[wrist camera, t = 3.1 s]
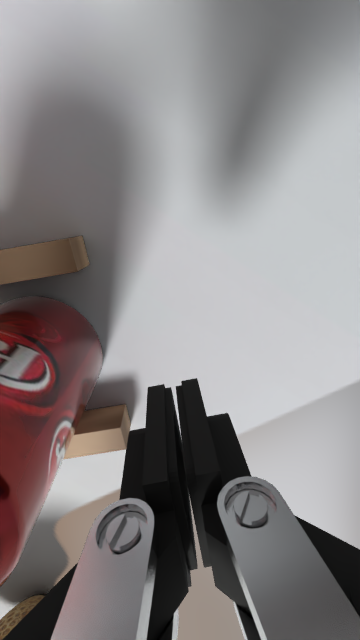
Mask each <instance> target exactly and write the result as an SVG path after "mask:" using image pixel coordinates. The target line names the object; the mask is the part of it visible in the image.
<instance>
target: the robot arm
mask: <svg viewBox="0 0 360 640" xmlns="http://www.w3.org/2000/svg"><path fill="white" fill-rule="evenodd" d="M181 382H182V386H176V393H177V402H178V411H179V419H180V428H181V435H180V430H179V425H178V420H177V415H176V410H175V405H174V400H173V395H172V390H171V387H170V388H165V386H164V384H163V385H157V386H152V387H148V395H147V413H146V428H143V429H138V430H132V431H130V432H129V434H128V441H127V448H126V455H125V463H124V470H123V478H122V485H121V493H120V500H119V501H117V502H114V503H112V504H110V505H109V506H108V507H107V508H105V509H104V510H103V511H102V512H101V513H100V514H99V515H98V517H97V518H96V519H95V521H94V523H93V525H92V527H91V529H90V531H89V534H88V537H87V540H86V543H85V546H84V548H83V551H82V554H81V556H80V559H79V562H78V563H77V564H76V565H75V566H74V567H73V568H72V569H71V570H70V571H69V572H68V573H67V574H66V575H65V576H64V577H63V578H62V579H61V580H60V581H59V582H58V583H57V584H56V585H55V586H54V587H53V588H52V589H51V590H50V591H49V593H48V594H47V595H46V596H45V597H44V598H43V599H42V600H41V601H40V602H39V603H38V604H37V605H36V606H35V607H34V608H33V609H32V610H31V611H30V612H29V613H28V614H27V615H26V616H25V617H24V618H23V619H22V620H21V621H20V622H19V623H18V624H17V625H16V626H15V627H14V628H13V629H12V630H11V631H10V632H9V633H8V634H7V635H6V636H5V637H4V638H3V639H2V640H177V637H178V621H179V617H178V607H179V605H180V603H181V602H182V601H183V599H184V597H185V596H186V594H187V593H188V587H190V586H191V577H190V570H194V569H197V559H196V550H195V541H194V532H193V524H192V515H191V506H190V500H191V505H192V510H193V514H194V520H195V525H196V530H197V534H198V539H199V544H200V550H201V554H202V559H203V565H204V567H209V566H212V571H213V576H214V581H215V586H216V587H217V588H218V589H219V590H221V591H222V592H223V593H224V594H226V595H227V596H228V597H229V598H230V599H232V600H233V604H234V609H235V612H236V615H237V618H238V621H239V624H240V627H241V630H242V633H243V636H244V639H245V640H360V550H359V549H358V548H355V547H354V546H352V545H350V544H348V543H346V542H344V541H342V540H340V539H338V538H336V537H335V536H333V535H331V534H329V533H327V532H325V531H323V530H321V529H319V528H318V527H316V526H314V525H312V524H310V523H308V522H306V521H304V520H302V519H300V518H298V517H297V516H295V515H294V514H293V513H292V511H291V509H290V508H289V507H288V505H287V503H286V502H285V500H284V499H283V497H282V496H281V494H280V493H279V491H278V490H277V489H276V488H275V487H274V486H273V485H272V484H270V483H269V482H267V481H266V480H263V479H260V478H257V477H251V475H250V471H249V469H248V466H247V463H246V460H245V458H244V455H243V453H242V450H241V447H240V444H239V441H238V439H237V436H236V433H235V430H234V428H233V425H232V422H231V420H230V417H229V415H228V413H225V414H219V415H214V416H209V417H207V416H206V412H205V408H204V404H203V400H202V396H201V392H200V388H199V384H198V380H197V378H196V379H191V380H185V381H181ZM181 437H182V440H181ZM189 495H190V499H189Z"/></svg>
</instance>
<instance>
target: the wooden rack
mask: <svg viewBox="0 0 360 640" xmlns="http://www.w3.org/2000/svg"><path fill="white" fill-rule="evenodd" d="M88 265H90V264H89V260H88V256H87V252H86V248H85V244H84V241H83V237H82V236H78V237H72V238H66V239H60V240H55V241H49V242H43V243H37V244H31V245H25V246H20V247H14V248H8V249H2V250H0V285H2V284H7V283H13V282H19V281H25V280H31V279H37V278H43V277H49V276H55V275H60V274H66V273H72V272H78V271H80V270H81V269H83V268H85V267H86V266H88ZM130 426H131V423H130V419H129V415H128V411H127V407H126V404H124V405H117V406H111V407H105V408H99V409H93V410H87V411H84V413H83V415H82V417H81V420H80V422H79V424H78V426H77V429H76V431H75V433H74V436H73V438H72V440H71V443H70V445H69V447H68V449H67V452H66V454H65V456H64V459H68V458H74V457H81V456H87V455H93V454H99V453H106V452H112V451H118V450H124V449H126V448H127V441H128V434H129V431H130Z"/></svg>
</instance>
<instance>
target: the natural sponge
mask: <svg viewBox="0 0 360 640" xmlns="http://www.w3.org/2000/svg"><path fill="white" fill-rule="evenodd" d="M44 597H45V596H44V595H36V596H32V597H30V598H28V599H26V600H24V601H22V602H21V603H19V604H18V605H16V606H15V607H14V608H13V609H12V610H10V611H9V612H8V613H7V614H6V615H5V616H4V617H3V618H2V619H1V620H0V640H2V639H3V638H4V637H5V636H6V635H7V634H8V633H9V632H10V631H11V630H12V629H13V628H14V627H15V626H16V625H17V624H18V623H19V622H20V621H21V620H22V619H23V618H24V617H25V616H26V615H27V614H28V613H29V612H30V611H31V610H32V609H33V608H34V607H35V606H36V605H37V604H38V603H39V602H40V601H41V600H42V599H43V598H44Z"/></svg>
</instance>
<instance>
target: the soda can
mask: <svg viewBox="0 0 360 640" xmlns="http://www.w3.org/2000/svg"><path fill="white" fill-rule="evenodd" d="M102 360H103V355H102V347H101V344H100V341H99V338H98V335H97V334H96V332H95V330H94V328H93V327H92V325H91V324H90V323H89V322H88V321H87V319H86V318H85V317H84V316H83V315H81V314H80V313H79V312H78V311H76V310H75V309H74V308H72V307H70V306H68V305H67V304H65V303H63V302H60V301H57V300H54V299H51V298H46V297H40V296H28V297H21V298H16V299H12V300H10V301H8V302H5V303H3V304H1V305H0V587H1V586H2V585H3V583H4V582H5V581H6V580H7V579H8V578H9V576H10V575H11V573H12V571H13V570H14V568H15V567H16V565H17V564H18V562H19V560H20V557H21V555H22V553H23V550H24V548H25V546H26V543H27V541H28V539H29V537H30V534H31V532H32V530H33V527H34V525H35V523H36V521H37V518H38V516H39V514H40V511H41V509H42V507H43V504H44V502H45V500H46V498H47V495H48V493H49V491H50V488H51V486H52V484H53V482H54V479H55V477H56V475H57V472H58V470H59V468H60V465H61V463H62V461H63V459H64V456H65V454H66V452H67V449H68V447H69V445H70V443H71V440H72V438H73V436H74V433H75V431H76V429H77V426H78V424H79V422H80V420H81V417H82V415H83V413H84V410H85V408H86V406H87V403H88V401H89V399H90V397H91V394H92V392H93V390H94V387H95V385H96V383H97V381H98V378H99V375H100V372H101V369H102Z"/></svg>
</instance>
